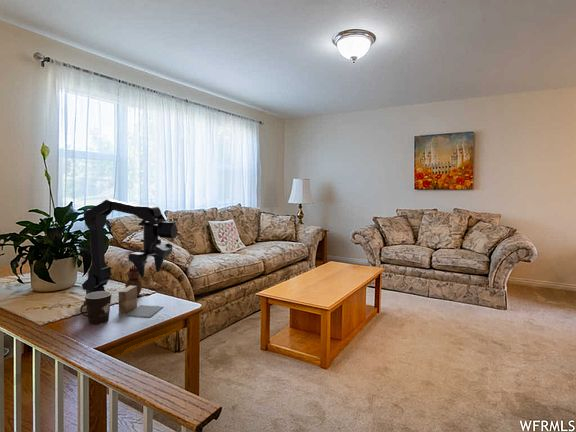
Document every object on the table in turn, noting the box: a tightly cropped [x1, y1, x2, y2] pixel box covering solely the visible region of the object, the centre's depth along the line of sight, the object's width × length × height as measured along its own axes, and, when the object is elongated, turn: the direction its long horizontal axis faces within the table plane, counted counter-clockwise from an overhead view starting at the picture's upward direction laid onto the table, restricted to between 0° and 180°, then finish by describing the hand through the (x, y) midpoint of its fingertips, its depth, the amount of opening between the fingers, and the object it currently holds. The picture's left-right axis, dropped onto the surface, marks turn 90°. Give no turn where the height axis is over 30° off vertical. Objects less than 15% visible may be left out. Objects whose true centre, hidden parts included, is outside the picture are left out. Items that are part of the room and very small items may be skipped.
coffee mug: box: [79, 290, 112, 326], centre depth 126 cm, size 12×9×10 cm
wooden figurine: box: [124, 264, 143, 296], centre depth 157 cm, size 7×6×15 cm
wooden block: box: [118, 286, 138, 315], centre depth 139 cm, size 3×8×9 cm, turn 174°
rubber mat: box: [124, 304, 164, 319], centre depth 138 cm, size 10×11×1 cm
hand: (150, 274), depth 143 cm, fingers open, 9 cm apart
